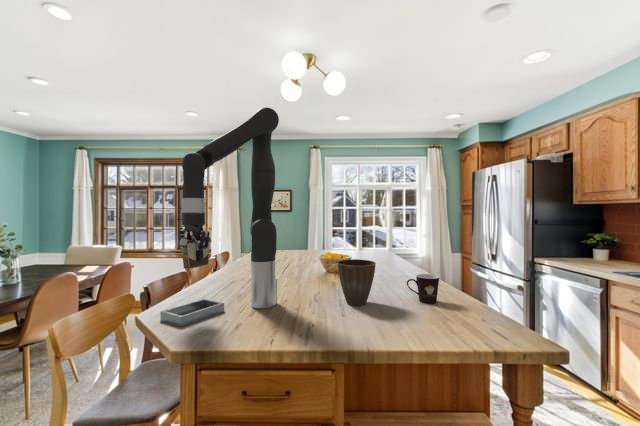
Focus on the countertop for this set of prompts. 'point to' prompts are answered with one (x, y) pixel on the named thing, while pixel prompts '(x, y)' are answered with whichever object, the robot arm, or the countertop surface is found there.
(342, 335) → the countertop surface
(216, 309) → the collar
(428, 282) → the coffee mug
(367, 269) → the plant pot
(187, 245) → the food container
